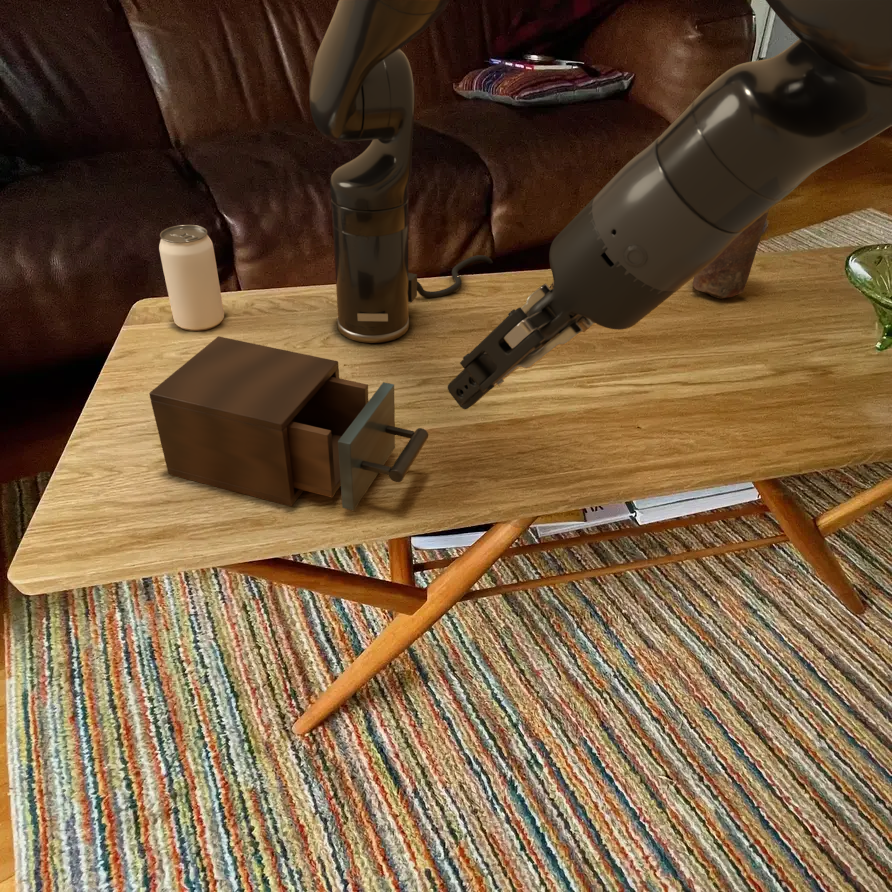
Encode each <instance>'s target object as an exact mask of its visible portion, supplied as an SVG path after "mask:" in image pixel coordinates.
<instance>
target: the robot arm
mask: <svg viewBox="0 0 892 892" xmlns="http://www.w3.org/2000/svg"><path fill="white" fill-rule="evenodd" d="M765 1H766V3H767V4H768V6H769V7H770V8H771V10H772V11H774V13H775V14H776V16H777V17H778V18H779V19H780V20H781V21H782V22H783V24H784V25H785V26H786V27H787V29H789V30H790V31H791V32H792V33H793V34H794V35H795V36H796V37H797V38H798V39H797V40H796V41H795V42H794V43H792V44H791V45H790V46H788V47H787V48H786V49H785V50H783V51H781V52H780V53H778V54H776V55H774V56H772V57H769V58H764V59H760V60H752V61H747V62H743V63H739V64H737V65H734V66H732V67H731V68H729V69H727V70H726V71H725V72H723V73H722V74H721V75H720V76H718V77H717V78H716V79H715V80H714V81H713V82H711V83H710V84H709V85H707V87H706V88H705V89H704V90H703V91H702V92H701V93H699V95H698V96H696V98H695V99H694V100H693V101H692V102H691V103H690V104H689V105H688V106H687V107H686V108H685V109H684V110H683V111H682V112H681V113H680V114H679V115H678V116H677V117H676V118H675V120H673V121H672V122H671V123H670V124H669V125H668V127H666V128H665V130H664V131H662V133H660V135H659V136H658V137H657V138H656V139H655V140H653V142H652V143H651V144H649V145H648V146H646V148H644V149H643V150H641V151H640V152H639V153H638V154H636V155H635V156H634V157H633V158H632V159H630V160H629V161H628V162H627V163H626V164H625V165H624V166H623V167H622V168H621V169H620V170H619V171H618V172H617V173H615V175H614V176H613V177H612V178H611V179H610V180H609V181H608V182H607V183H606V184H605V185H604V187H602V189H600V191H598V192H597V194H595V195H594V197H592V198H591V200H590V201H589V202H588V203H587V204H586V205H585V206H584V207H583V208H582V209H581V210H580V211H578V213H577V214H576V215H575V216H574V218H573V219H572V220H571V221H569V222H568V223H567V225H566V226H565V227H564V228H563V229H562V230H560V232H559V233H558V234H557V235H556V236H555V237H554V239H553V240H552V242H551V244H550V247H549V253H548V262H549V267H550V270H551V274H552V278H553V282H552V283H551V284H550V285H548V283H543V284H542V285H540V286H539V287H538V288H537V289H536V290H534V291H533V292H532V293H531V294H529V295H528V296H527V299H526V302H525V303H524V304H523V305H522V306H519V307H518V308H516V309H512V310H510V311H509V312H508V313H507V316H506V318H504V320H502V321H501V322H500V323H499V324H498V325H497V326H496V327H495V328H494V329H492V331H491V332H490V333H489V334H488V335H487V336H486V337H485V338H484V339H482V341H480V343H478V344H477V345H476V346H475V347H474V348H473V349H472V350H471V351H470V352H469V353H467V354H465V355H464V356H463V357H462V360H461V361H460V362H459V364H460V366H461V367H462V368H463V370H461V372H459V373H458V374H457V375H456V377H454V378H453V379H452V380H451V381H450V383H448V385H447V391H448V393H449V394H450V395H451V397H452V398H453V400H454V401H455V402H456V404H457V405H458V406H459V407H460V408H461V409H462V410H468V409H470V408H471V407H472V406H474V405H475V404H476V403H478V401H480V400H481V399H482V398H483V397H484V396H486V395H487V394H488V393H489V392H490V391H491V390H493V389H494V388H495V387H496V386H498V387H499V386H500V385H502V384H503V383H504V382H505V379H507V377H509V376H510V375H512V374H513V373H515V371H517V370H518V369H519V368H524V369H531V368H532V367H533V366H535V365H536V364H537V363H539V362H541V360H542V359H543V358H545V357H546V356H547V355H549V354H550V353H551V352H553V351H554V350H555V349H556V348H557V347H559V346H566V345H567V344H569V343H571V341H572V340H574V339H575V338H577V337H578V336H579V335H581V334H582V333H585V332H587V331H588V330H590V328H592V327H593V326H594V325H598V326H600V327H603V328H606V329H610V330H618V331H619V330H620V331H621V330H627V329H629V328H632V327H633V326H635V325H637V324H638V323H639V322H640V321H642V320H643V319H644V318H645V317H646V316H647V315H649V314H651V312H653V311H654V310H655V309H656V308H657V307H659V306H660V305H661V304H663V303H664V302H665V301H666V300H668V298H670V297H672V295H673V294H675V293H677V291H679V290H680V289H681V288H682V287H683V286H684V285H686V284H687V283H689V282H690V281H691V280H692V279H694V277H695V276H696V275H697V274H698V273H699V272H701V271H702V270H703V269H704V268H706V267H707V266H708V265H709V264H710V263H712V262H713V261H714V260H715V259H716V258H717V257H718V256H719V255H720V254H721V253H722V252H723V251H724V250H725V249H726V248H727V247H728V245H729V244H730V243H731V242H732V241H733V240H734V239H735V238H736V237H737V236H739V235H740V234H741V233H742V232H743V231H744V230H745V229H746V228H748V227H749V226H750V225H751V224H752V223H754V222H755V221H756V220H757V219H759V218H760V217H761V216H762V215H764V214H765V213H766V212H767V211H768V210H769V211H771V209H772V208H773V207H775V206H776V205H777V204H778V203H780V202H781V201H782V200H783V199H785V198H786V197H787V196H788V195H789V194H791V193H792V192H793V191H794V190H795V189H797V188H798V186H800V185H801V184H802V183H803V182H805V180H806V179H807V178H809V176H811V175H812V174H813V173H815V172H816V171H818V170H819V169H821V168H823V167H824V166H827V164H829V163H831V162H833V161H835V160H836V159H839V158H840V157H841V156H844V155H845V154H847V153H849V152H851V151H853V150H854V149H856V148H858V147H860V146H861V145H863V144H864V143H866V142H867V141H870V140H871V139H872V138H874V137H876V136H877V135H879V134H881V133H883V132H884V131H885V130H887V129H889V128H891V127H892V0H765ZM449 2H450V0H338V1H337V4H336V6H335V10H334V13H333V15H332V18H331V20H330V23H329V24H328V27H327V29H326V31H325V34H324V36H323V38H322V41H321V43H320V45H319V47H318V50H317V52H316V55H315V58H314V61H313V65H312V67H311V74H310V78H309V87H308V100H309V110H310V114H311V119H312V120H313V123H314V125H315V127H316V129H317V130H318V131H319V133H320V134H321V135H322V136H324V137H325V138H326V139H327V140H331V141H334V142H340V143H341V142H344V143H346V142H360V141H371V142H370V144H369V145H368V146H367V148H365V150H363V152H361V153H360V154H359V155H358V156H356V157H355V158H353V159H351V160H350V161H348V162H346V163H344V164H342V165H340V166H339V167H337V168H336V169H335V170H334V171H333V172H332V174H331V176H330V180H329V191H330V205H331V207H330V208H331V222H332V238H333V239H332V240H333V254H334V270H335V271H334V272H335V273H334V274H335V289H336V306H337V330H338V332H340V334H341V335H342V336H344V337H345V338H347V339H349V340H352V341H354V342H355V341H356V342H360V343H368V344H377V343H378V344H379V343H385V342H386V343H387V342H390V341H395V340H396V339H398V338H401V337H402V336H404V335H405V334H406V333H407V332H408V330H409V327H410V317H409V303H413V301H414V300H415V299H416V298H417V297H418V294H419V295H420V296H421V297H423V298H428V299H429V298H430V299H434V298H440V297H445V296H448V295H450V294H453V293H454V292H456V291H457V290H459V289H460V288H461V286H462V279H461V276H460V275H459V273H458V272H459V271H461V270H462V269H463V268H465V267H467V266H468V265H470V264H473V263H476V262H484V263H486V264H487V265H491V264H493V263H494V262H493V260H492V258H490V257H489V256H487V255H484V254H477V255H473V256H470V257H468V258H466V259H464V260H462V261H461V262H458V263H457V264H456V265H455V266H454V267H453V268H452V269H451V276H452V278H453V280H454V284H452V285H450V286H448V287H446V288H444V289H441V290H435V291H429V290H425V289H424V287H423V286H422V284H421V282H419V281H418V274H417V273H412V272H411V273H410V272H409V191H410V189H409V187H410V181H411V177H412V163H413V161H412V159H413V137H414V123H415V102H416V101H415V99H416V98H415V82H414V76H413V71H412V67H411V64H410V61H409V59H408V57H407V56H406V54H405V53H404V51H402V50H401V48H403V47H404V46H406V45H407V44H408V43H410V42H411V41H412V40H414V39H415V38H417V37H418V36H420V34H422V33H423V32H424V31H425V30H427V29H428V27H430V26H432V24H433V23H435V21H436V20H437V19H438V18H439V17H440V16H441V14H443V12H444V11H445V9H446V8H447V6H448V4H449ZM457 276H459V277H457Z"/></svg>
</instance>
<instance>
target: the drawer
mask: <svg viewBox="0 0 892 892" xmlns="http://www.w3.org/2000/svg"><path fill="white" fill-rule="evenodd" d="M395 415H396V412H395V384H394V383H389V382H385V381H384V382H382V383H381V385H380V386H379V387H378V388H377V390H376V391H375V392H374V393H373V395H372V396H371V397H370V399H369V384H368V383H364V382H363V383H362V382H358V381H353V380H348V379H343V378H340V377H339V378H335V377H330V378H329V379H328V380H327V381H326V382H325V384H324V385H323V386H322V387H321V388H320V389H319V390H318V392H317V393H316V394H315V395H314V396H313V397H312V398H311V399H310V401H309V402H308V403H307V404H306V405H305V406H304V407H303V408H302V410H301V411H300V412H299V413H298V414H297V415H296V416H295V417H294V419H293V420H292V421H291V422H290V423H289V424H288V425H287V435H288V443H289V452H290V461H291V469H292V478H293V487H294V488H297V489H301V490H304V492H309V493H313V494H317V495H320V496H325V497H328V498H333V497H334V496H335V494H336V493H337V491H339V489H340V492H341V493H340V495H341V507H342V509H345V510H350V511H353V512H354V511H355V509H356V508H357V507H358V505H359V503H360V502H361V501H362V499H363V497H364V495H365V494H366V493H367V491H368V490H369V488H370V487H371V485H372V483H373V482H374V481H375V479H376V477H377V476H378V474H380V475H384V476H388V478H389V479H390V480H391V481H392V482H394V483H401V482H402V481H403V480H404V478H405V476H406V475H407V473H408V471H409V470H410V468H411V467H412V465H413V463H414V462H415V460H416V458H417V457H418V455H419V454H420V452H421V450H422V449H423V447H424V445H425V444H426V442H427V441H428V439H429V432H428V431H427V430H426V429H425V428H422V427H418V428H416V429H415V430H411V429H406V428H403V427H402V428H401V427H397V426H396V423H395V421H396V419H395V417H396V416H395ZM396 436H397V437H401V438H406V439H409V440H408V441H407V443H406V445H405V446H404V448H403V449H402V451H401V452H400V454H399V456H397V459H396V460H395V461H394V463H393V465H392V466H388V465H385V464H386V463H387V461H388V459H389V458H390V457H391V456H392V453H393V451H395V449H396Z"/></svg>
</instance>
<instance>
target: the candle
mask: <svg viewBox="0 0 892 892" xmlns="http://www.w3.org/2000/svg"><path fill="white" fill-rule="evenodd" d="M769 212H770V210H768V211H767V212H766V213H765V214H764V215H762V216H761V217H760V218H759V219H757V220H756V221H755V222H754V223H752V224H751V225H750V226H749V227H748V228H746V229H745V230H744V231H743V232H742V233H741V234H740V235H739V236H737V237H736V238H735V239H734V240H733V241H732V242H731V243H730V244H729V245H728V247H727V248H726V249H725V250H724V251H723V252H722V253H721V254H720V255H719V256H718V257H717V258H716V259H715V260H714V261H713V262H712V263H710V264H709V265H708V266H707V267H706V268H704V269H703V270H702V271H701V272H699V273H698V274H697V275H696V276H695V277H693V281H692V288H693V289H695V290H696V291H699V292H703V293H705V294H707V295H710V296H711V297H712V298H716V299H726V298H733V297H735V296H737V295H740V294H742V293H744V291H745V288H746V286H747V282H748V280H749V277H750V273H751V270H752V266H753V264H754V260H755V257H756V254H757V251H758V247H759V244H760V241H761V238H762V234H763V231H764V228H765V225H766V221H767V218H768V214H769Z"/></svg>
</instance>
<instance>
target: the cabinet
mask: <svg viewBox="0 0 892 892" xmlns="http://www.w3.org/2000/svg"><path fill="white" fill-rule="evenodd" d="M339 369H340V368H339V361H338V360H335V359H329V358H325V357H319V356H316V355H315V356H314V355H310V354H305V353H301V352H295V351H291V350H286V349H281V348H277V347H271V346H267V345H261V344H257V343H252V342H247V341H244V340H239V339H233V338H230V337H229V338H228V337H223V336H216V337H215V338H214V339H213V340H212V341H211V342H209V343H208V344H207V345H205V347H203V348H202V349H201V350H199V351H198V352H197V353H196V354H195V355H194V356H193V357H190V359H188V360H187V362H185V363H184V364H182V365H181V366H180V367H178V369H177V370H175V371H174V372H173V373H172V374H171V375H169V376H167V378H165V379H164V380H163V381H162V382H161V383H159V384H158V385H157V386H156V387H155V388H154V389H152V390H151V391H150V392H149V393H148V395H149V398H150V404H151V407H152V412H153V416H154V420H155V424H156V428H157V432H158V433H157V434H158V436H159V437H158V438H159V441H160V445H161V449H162V454H163V457H164V461H165V465H166V470H167V474H168V475H170V476H174V477H178V478H181V479H185V480H188V481H193V482H197V483H201V484H203V485H204V484H205V485H209V486H212V487H216V488H219V489H223V490H228V491H231V492H235V493H239V494H242V495H246V496H250V497H254V498H257V499H261V500H264V501H268V502H269V501H270V502H273V503H277V504H280V505H284V506H288V507H293V505H294V504H295V503H296V501H297V500H298V499H299V497H300V496H301V495H302V493H303V492H305V490H301V489H297V488H294V487H293V478H292V469H291V461H290V452H289V443H288V435H287V425H288V424H289V423H290V422H291V421H292V420H293V419H294V417H295V416H296V415H297V414H298V413H299V412H300V411H301V410H302V408H303V407H304V406H305V405H306V404H307V403H308V402H309V401H310V399H311V398H312V397H313V396H314V395H315V394H316V393H317V392H318V390H319V389H320V388H321V387H322V386H323V385H324V384H325V382H326V381H327V380H328V379H329V378H330V377H335V378H340V370H339Z"/></svg>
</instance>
